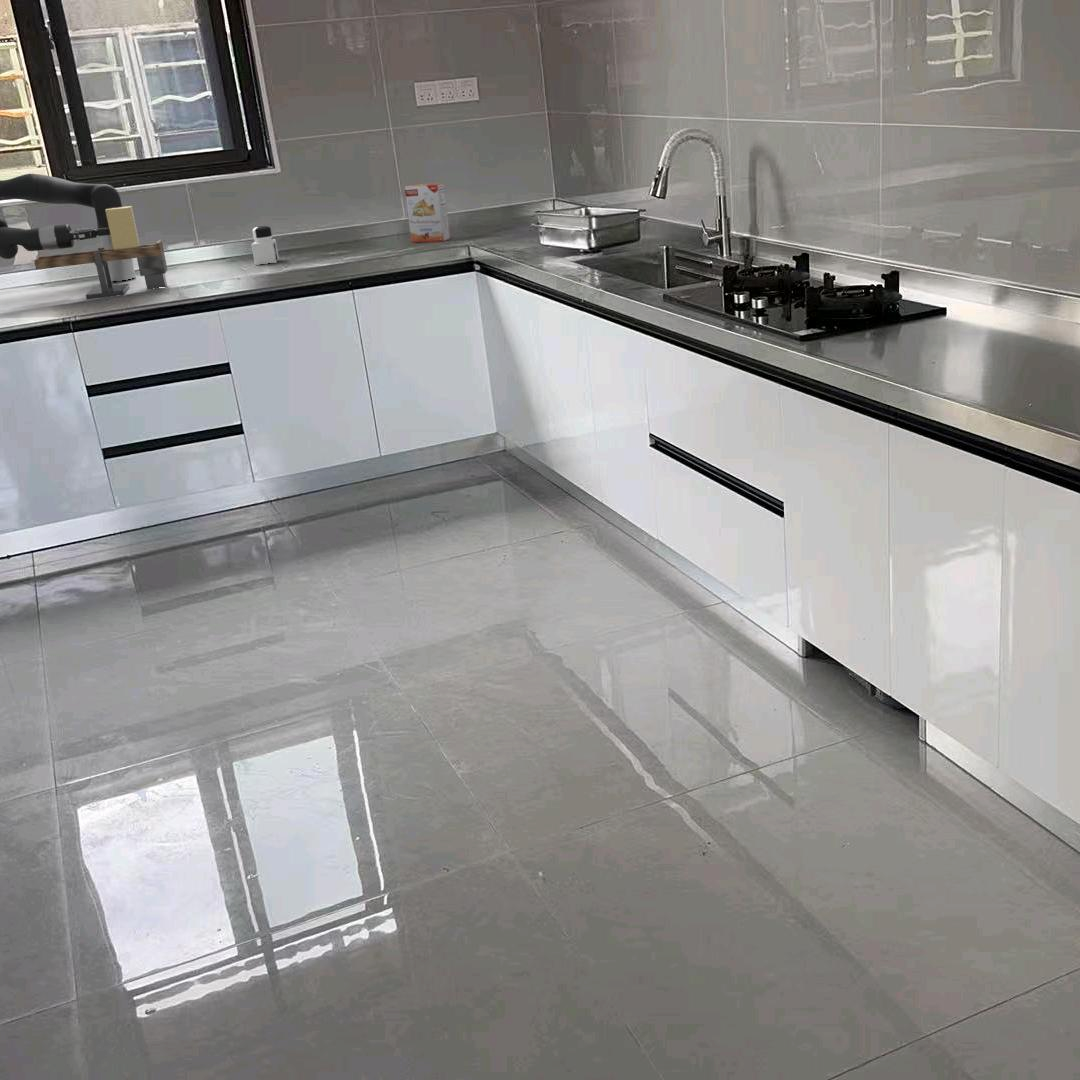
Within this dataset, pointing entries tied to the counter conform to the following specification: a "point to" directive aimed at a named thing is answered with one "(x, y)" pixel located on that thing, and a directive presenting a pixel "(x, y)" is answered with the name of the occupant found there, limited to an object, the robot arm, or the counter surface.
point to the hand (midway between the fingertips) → (110, 231)
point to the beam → (112, 258)
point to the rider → (122, 228)
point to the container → (264, 246)
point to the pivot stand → (114, 290)
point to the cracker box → (427, 212)
